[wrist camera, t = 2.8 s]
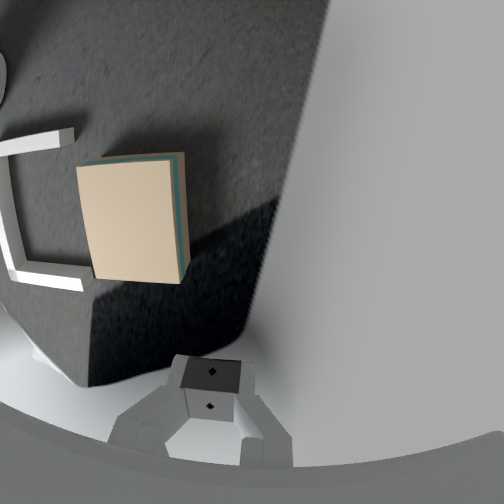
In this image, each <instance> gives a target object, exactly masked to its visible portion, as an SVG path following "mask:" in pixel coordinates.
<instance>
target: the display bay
mask: <svg viewBox="0 0 504 504" xmlns="http://www.w3.org/2000/svg"><path fill="white" fill-rule="evenodd" d="M72 143H75V140H74V127H72V128H65V129H59V130H53V131H47V132H42V133H37V134H31V135H27V136H22V137H17V138H13V139H8V140H4V141H0V244H1V248H2V252H3V255H4V259H5V262H6V266H7V269H8V272H9V275H10V279H11V280H12V281H18V282H24V283H30V284H36V285H42V286H49V287H55V288H62V289H69V290H76V291H83V292H84V290H85V289H86V288H87V287H88V286H89V284H90V283H91V282H92V281H93V280H94V277H93V273H92V268H91V267H87V266H77V265H66V264H56V263H47V262H37V261H28V260H27V259H26V255H25V251H24V247H23V243H22V239H21V235H20V230H19V225H18V221H17V216H16V210H15V205H14V199H13V193H12V186H11V179H10V172H9V163H8V155H12V154H18V153H23V152H29V151H36V150H42V149H49V148H56V147H62V146H65V145H68V144H72Z"/></svg>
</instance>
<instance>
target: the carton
mask: <svg viewBox="0 0 504 504" xmlns="http://www.w3.org/2000/svg"><path fill="white" fill-rule="evenodd" d="M76 169H77V177H78V185H79V192H80V199H81V206H82V212H83V218H84V223H85V229H86V234H87V239H88V244H89V249H90V254H91V258H92V263H93V267H94V271H95V275H96V278H99V279H112V280H127V281H141V282H157V283H175V284H180V282H181V280H183V277H184V275H185V271H186V269H187V267H188V264H189V262H190V260H191V259H190V247H189V233H188V218H187V201H186V182H185V156H184V152H169V153H149V154H134V155H121V156H110V157H101V158H98V159H95V160H93V161H90V162H86V163H84V164H81V165H80V166H78V167H76Z"/></svg>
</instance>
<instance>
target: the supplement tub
mask: <svg viewBox="0 0 504 504" xmlns="http://www.w3.org/2000/svg"><path fill="white" fill-rule="evenodd" d="M6 77H7V70H6V63H5V60H4V57H3V55H2V54H1V52H0V104H1V102H2V99H3V96H4V92H5V86H6Z"/></svg>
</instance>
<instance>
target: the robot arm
mask: <svg viewBox="0 0 504 504" xmlns="http://www.w3.org/2000/svg"><path fill="white" fill-rule="evenodd" d="M255 371H256V362H254V361H236V360H222V359H209V358H200V357H193V356H183V355H176V356H175V357H174V360H173V363H172V366H171V369H170V372H169V375H168V378H167V381H166V385H165V386H160V387H159V388H157V389H156V390H154V391H153V392H152V393H150V394H149V395H147V396H146V397H145V398H143V399H142V400H140V401H139V402H138V403H136V404H135V405H133V406H132V407H131V408H129V409H128V410H126V411H125V412H124V413H122V414H121V415H119V416H118V417H117V419H116V422H115V424H114V426H113V429H112V432H111V434H110V437H109V439H108V442H107V443H105V442H102V441H98V440H95V439H92V438H88V437H85V436H82V435H79V434H76V433H73V432H70V431H67V430H65V429H62V428H59V427H57V426H54V425H52V424H49V423H47V422H44V421H42V420H39V419H37V418H34V417H32V416H30V415H28V414H25V413H23V412H21V411H19V410H16V409H14V408H12V407H10V406H8V405H6V404H4V403H2V402H0V504H504V433H503V432H502V431H493V432H490V433H487V434H484V435H482V436H479V437H475V438H472V439H469V440H466V441H463V442H460V443H456V444H452V445H449V446H445V447H442V448H438V449H434V450H430V451H426V452H421V453H417V454H412V455H406V456H402V457H396V458H390V459H384V460H377V461H370V462H363V463H354V464H344V465H332V466H315V467H293V458H292V457H293V456H292V437H291V436H290V435H289V434H288V432H287V431H286V430H285V429H284V427H283V426H282V425H281V424H280V423H279V421H278V420H277V419H276V417H275V416H274V415H273V414H272V412H271V411H270V410H269V408H268V407H267V406H266V405H265V403H264V402H263V401H262V399H261V398H260V397H259V396H258V395H254V393H255ZM189 418H200V419H212V420H218V421H228V422H234V424H235V426H236V428H237V429H238V431H239V433H240V434H241V436H242V438H243V439H242V445H241V457H240V466H236V465H224V464H213V463H204V462H197V461H190V460H183V459H176V458H171V457H169V454H168V452H167V449H166V446H165V444H164V443H165V442H166V441H167V440H168V439H170V437H172V435H174V434H175V433H176V432H177V431H178V430H179V429H180V428H181V426H183V425H184V424H185V423H186V421H188V419H189Z"/></svg>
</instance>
